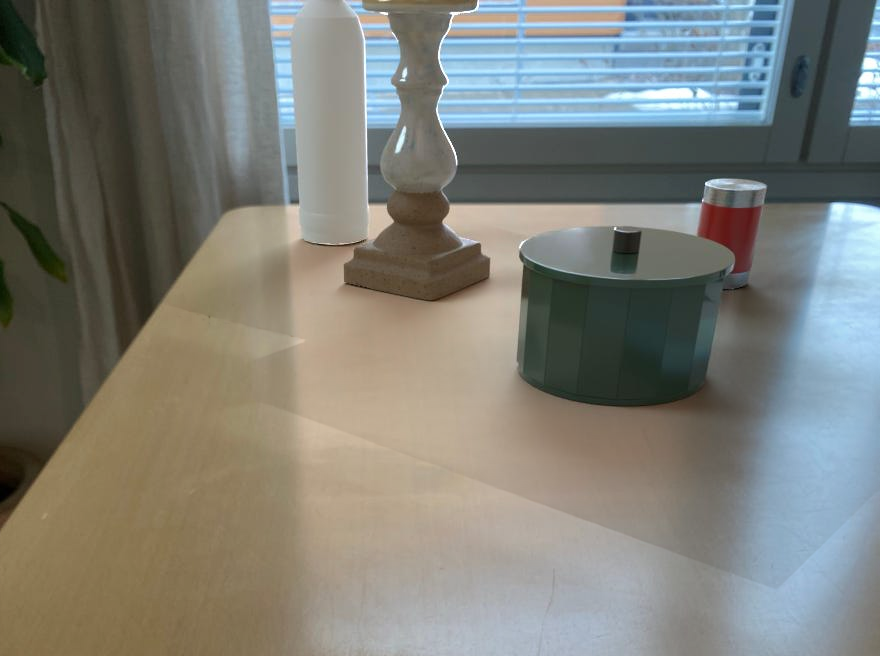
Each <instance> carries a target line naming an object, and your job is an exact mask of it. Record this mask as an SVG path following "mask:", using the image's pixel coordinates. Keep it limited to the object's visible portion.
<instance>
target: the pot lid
mask: <svg viewBox="0 0 880 656" xmlns="http://www.w3.org/2000/svg"><path fill="white" fill-rule="evenodd" d="M518 258H519V260H520V262H521V263H522V265H523V264H524V265H526V266H527V267H528V268H530V269H532V270H534V271H536V272H539V273H541V274H544V275H547V276H550V277H553V278H557V279H561V280H565V281H569V282H575V283H580V284H587V285H594V286H603V287H613V288H631V289H660V288H676V287H686V286H693V285H699V284H704V283H708V282H711V281H715V280H718V279H720V278H723V277H724V276H726V275H728V274H729V273H730V272H731V271H732V270H733V268H734V264H735V256H734V254H733V252H732V251H731V250H729V249H728V248H726V247H725V246H723V245H721V244H719V243H717V242H714V241H711V240H709V239H705V238H702V237H698V236H696V235H694V234H690V233H685V232H679V231H676V230H675V231H674V230H667V229H661V228H651V227H641V226H640V227H639V226H632V225H621V226H619V225H597V226H596V225H595V226H593V225H592V226H579V227H577V226H576V227H568V228H561V229H555V230H550V231H545V232H541V233H538V234H536V235H533V236H530V237H528V238H527V239H525V240H524V241H522V242H521V244H520V245H519V252H518Z"/></svg>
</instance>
